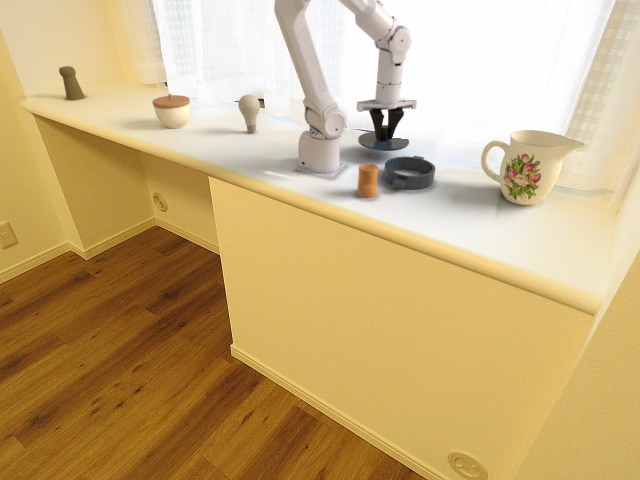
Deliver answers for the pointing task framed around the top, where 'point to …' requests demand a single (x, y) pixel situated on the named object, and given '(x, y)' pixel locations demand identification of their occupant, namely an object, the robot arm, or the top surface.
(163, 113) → the trinket box
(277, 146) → the top surface
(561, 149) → the pitcher
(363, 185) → the peg
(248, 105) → the lightbulb
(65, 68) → the grey-brown tapered knobbed cylinder
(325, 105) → the robot arm
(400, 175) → the pot
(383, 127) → the lid
